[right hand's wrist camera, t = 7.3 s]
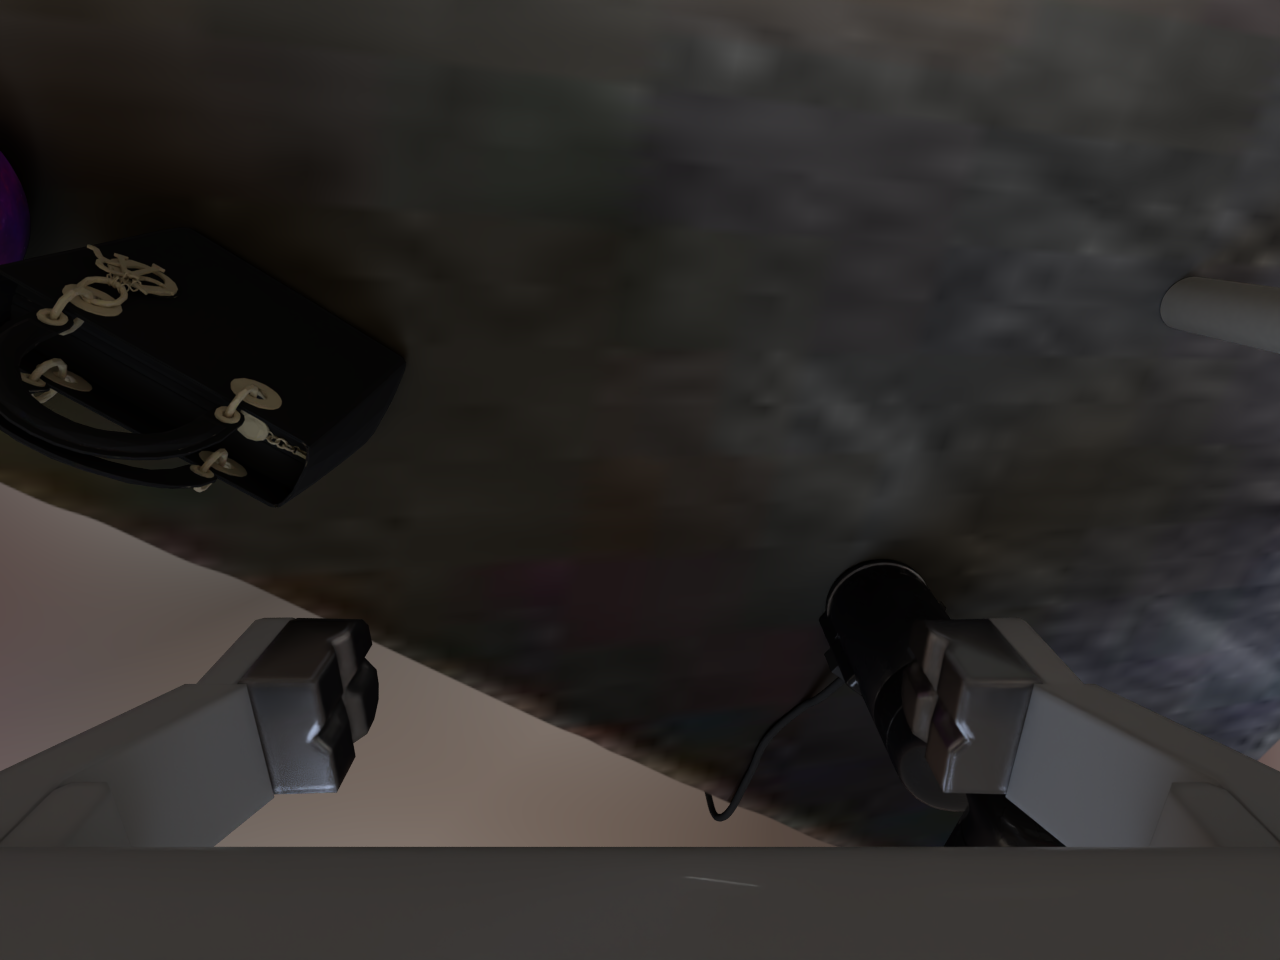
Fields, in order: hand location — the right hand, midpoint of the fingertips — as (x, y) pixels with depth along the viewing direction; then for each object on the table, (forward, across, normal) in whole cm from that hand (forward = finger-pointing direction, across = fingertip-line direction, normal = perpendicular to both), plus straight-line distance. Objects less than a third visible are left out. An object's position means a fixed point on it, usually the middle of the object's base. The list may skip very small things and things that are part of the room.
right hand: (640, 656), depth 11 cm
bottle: (+48, -43, +1) cm, 64 cm away
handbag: (+48, +29, +4) cm, 56 cm away
